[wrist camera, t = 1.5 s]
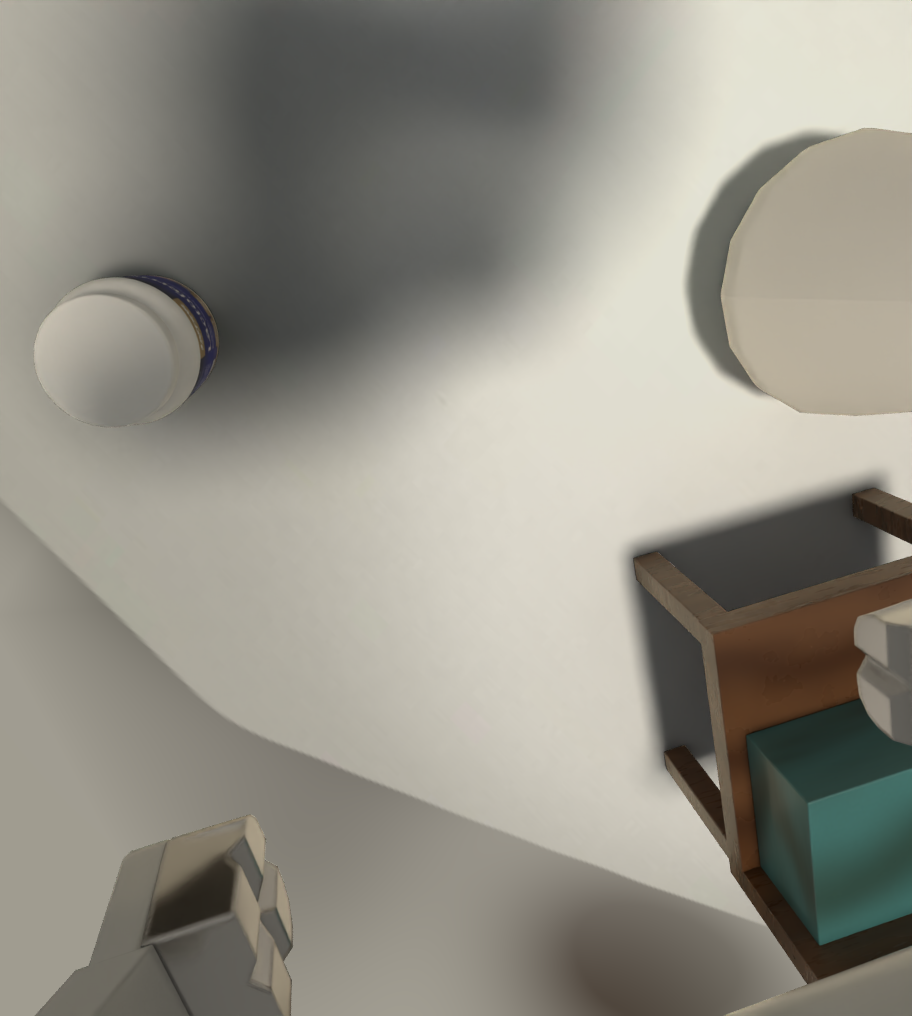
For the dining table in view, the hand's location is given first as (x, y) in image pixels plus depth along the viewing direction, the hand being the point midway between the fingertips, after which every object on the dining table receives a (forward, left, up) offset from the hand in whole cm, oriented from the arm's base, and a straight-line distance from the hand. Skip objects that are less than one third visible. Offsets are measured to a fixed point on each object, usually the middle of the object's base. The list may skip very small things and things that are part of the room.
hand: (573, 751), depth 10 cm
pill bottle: (-5, -9, -31) cm, 33 cm away
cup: (0, +24, -31) cm, 39 cm away
